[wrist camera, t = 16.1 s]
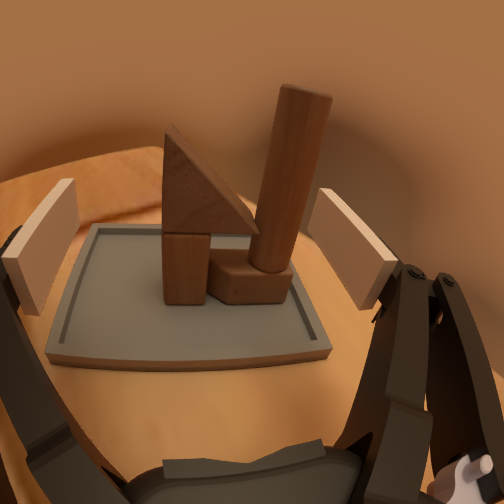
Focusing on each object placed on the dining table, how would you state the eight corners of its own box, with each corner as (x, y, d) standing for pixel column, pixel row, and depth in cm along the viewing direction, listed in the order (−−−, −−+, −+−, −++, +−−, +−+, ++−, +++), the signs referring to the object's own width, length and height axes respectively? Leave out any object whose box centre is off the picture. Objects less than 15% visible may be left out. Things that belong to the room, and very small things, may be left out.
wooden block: (164, 278, 26) (174, 70, 16) (275, 278, 29) (322, 91, 19) (163, 306, 23) (170, 70, 13) (285, 305, 26) (345, 98, 16)
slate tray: (51, 363, 16) (44, 352, 16) (94, 234, 31) (92, 223, 30) (326, 358, 22) (333, 348, 21) (272, 237, 36) (274, 227, 35)
